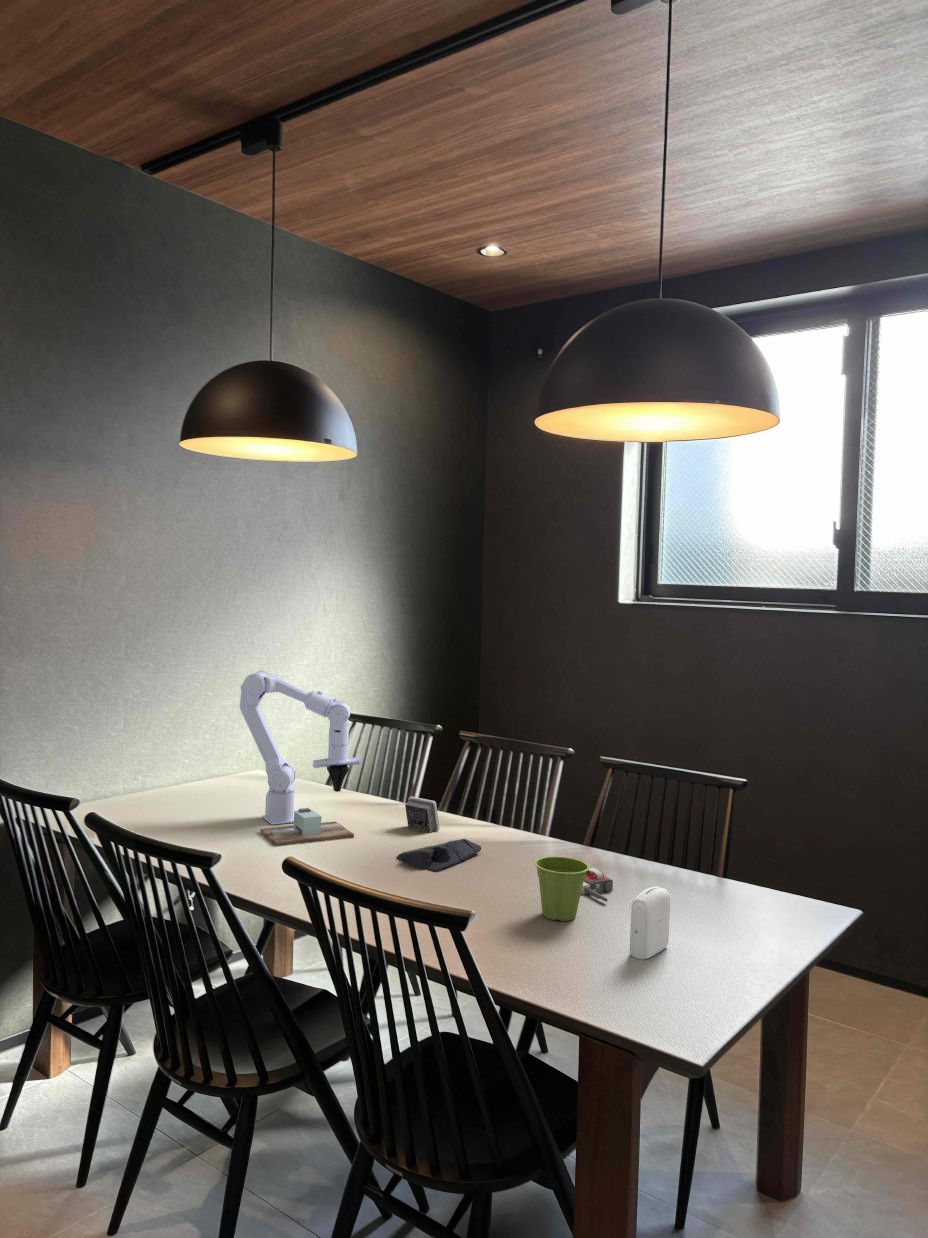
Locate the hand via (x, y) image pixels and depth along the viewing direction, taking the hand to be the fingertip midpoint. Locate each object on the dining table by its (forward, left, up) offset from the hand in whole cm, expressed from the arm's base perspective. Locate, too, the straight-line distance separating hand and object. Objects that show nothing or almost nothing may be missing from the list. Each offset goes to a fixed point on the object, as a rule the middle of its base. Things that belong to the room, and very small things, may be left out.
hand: (336, 790), depth 262 cm
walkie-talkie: (+77, +34, -10) cm, 85 cm away
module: (+9, -12, -8) cm, 17 cm away
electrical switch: (+16, +20, -10) cm, 27 cm away
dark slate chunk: (+41, +13, -10) cm, 44 cm away
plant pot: (+88, +17, -10) cm, 90 cm away
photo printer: (+111, +22, -10) cm, 114 cm away
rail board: (+9, -12, -9) cm, 18 cm away
